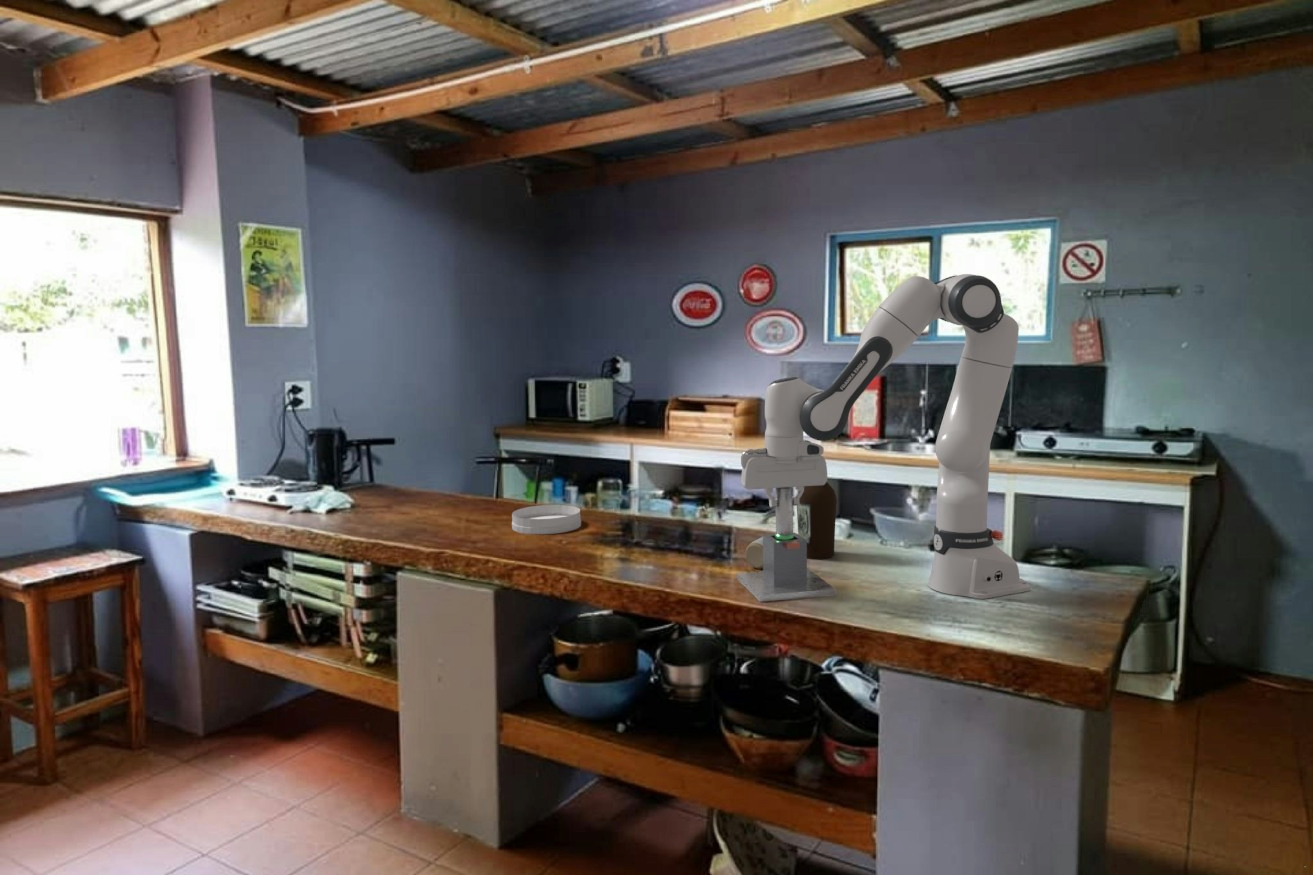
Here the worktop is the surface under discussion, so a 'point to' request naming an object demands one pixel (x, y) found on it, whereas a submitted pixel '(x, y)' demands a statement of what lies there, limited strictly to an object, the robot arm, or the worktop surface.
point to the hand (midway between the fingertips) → (784, 505)
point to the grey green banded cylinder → (784, 514)
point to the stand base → (785, 572)
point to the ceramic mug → (755, 553)
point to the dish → (546, 519)
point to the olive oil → (817, 520)
